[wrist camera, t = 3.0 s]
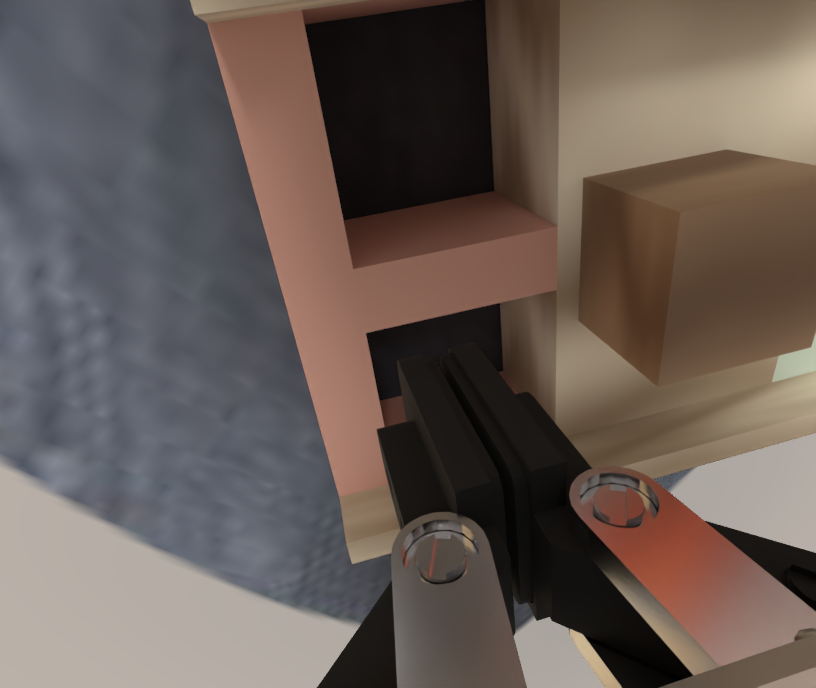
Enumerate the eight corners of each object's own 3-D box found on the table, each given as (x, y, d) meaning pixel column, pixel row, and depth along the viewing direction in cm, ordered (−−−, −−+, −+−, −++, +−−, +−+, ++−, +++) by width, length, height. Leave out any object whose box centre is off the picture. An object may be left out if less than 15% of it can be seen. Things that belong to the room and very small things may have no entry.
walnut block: (583, 177, 14) (680, 212, 11) (726, 149, 15) (862, 173, 11) (578, 320, 17) (658, 387, 13) (703, 291, 17) (811, 347, 14)
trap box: (215, -5, 15) (149, -86, 7) (924, -100, 18) (1427, -231, 10) (331, 431, 23) (361, 621, 15) (807, 313, 26) (1037, 419, 18)
